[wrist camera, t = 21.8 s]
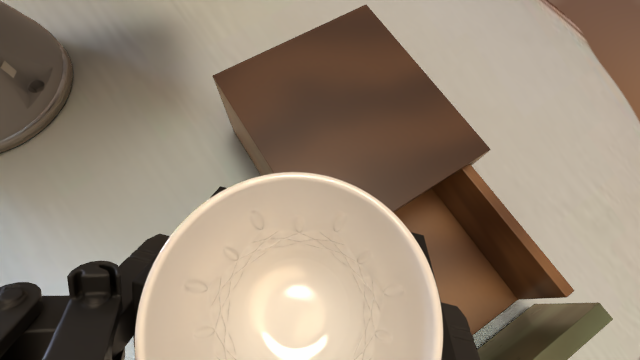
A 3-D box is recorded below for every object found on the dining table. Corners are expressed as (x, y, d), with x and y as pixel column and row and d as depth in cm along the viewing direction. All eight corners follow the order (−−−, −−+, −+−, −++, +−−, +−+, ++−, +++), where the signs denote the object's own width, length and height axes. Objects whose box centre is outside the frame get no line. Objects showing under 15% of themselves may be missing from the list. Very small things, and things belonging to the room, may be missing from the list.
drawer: (599, 387, 27) (691, 411, 21) (474, 503, 24) (536, 573, 18) (433, 175, 33) (465, 143, 26) (316, 249, 30) (320, 233, 23)
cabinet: (444, 188, 33) (490, 149, 25) (319, 269, 30) (325, 255, 22) (352, 70, 37) (366, 4, 29) (233, 130, 34) (212, 75, 26)
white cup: (306, 437, 16) (310, 605, 7) (188, 322, 18) (65, 336, 9) (401, 301, 19) (499, 292, 9) (290, 209, 20) (280, 122, 11)
